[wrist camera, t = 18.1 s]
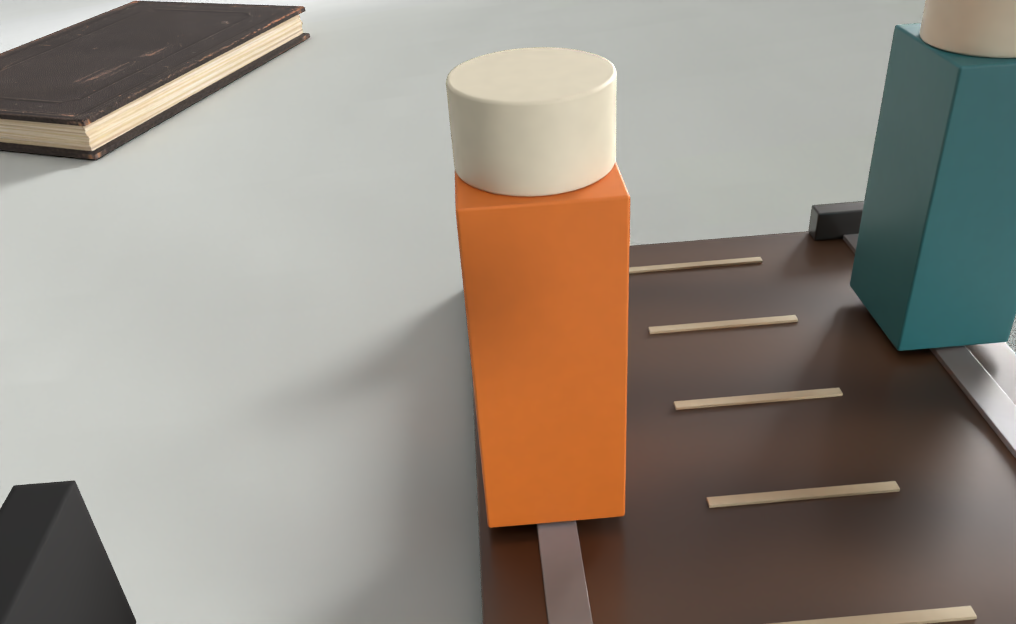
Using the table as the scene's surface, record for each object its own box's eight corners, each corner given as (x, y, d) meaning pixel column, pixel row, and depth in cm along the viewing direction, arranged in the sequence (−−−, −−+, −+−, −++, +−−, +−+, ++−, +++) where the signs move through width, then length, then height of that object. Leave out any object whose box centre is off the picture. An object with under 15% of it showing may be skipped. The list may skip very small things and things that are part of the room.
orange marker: (625, 517, 23) (632, 98, 17) (488, 529, 23) (445, 113, 17) (602, 416, 26) (601, 37, 20) (482, 426, 26) (445, 49, 20)
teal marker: (1008, 342, 28) (1119, -25, 22) (897, 352, 28) (977, -14, 22) (947, 277, 31) (1029, -57, 25) (848, 285, 31) (906, -48, 25)
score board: (1284, 703, 19) (1333, 631, 18) (491, 775, 19) (483, 707, 17) (891, 250, 36) (902, 195, 35) (469, 284, 36) (464, 231, 34)
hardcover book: (310, 37, 67) (304, 6, 65) (96, 160, 49) (82, 120, 48) (137, 29, 72) (128, 0, 70) (-114, 138, 54) (-132, 101, 53)
